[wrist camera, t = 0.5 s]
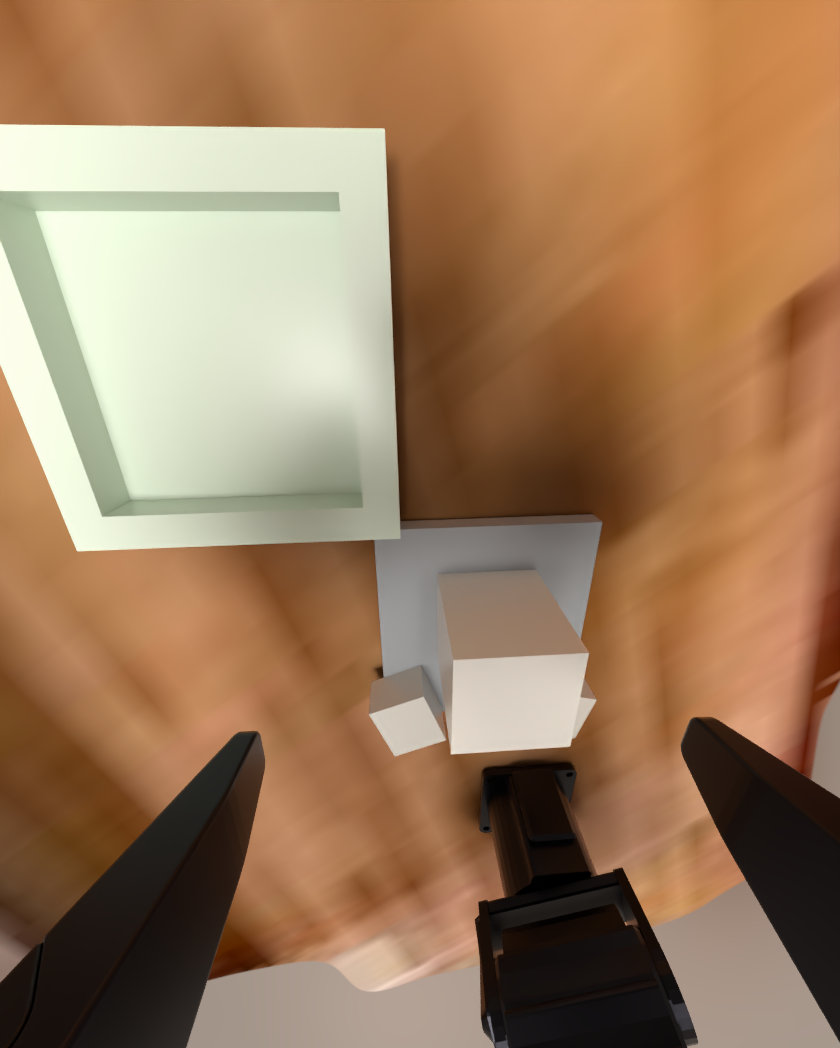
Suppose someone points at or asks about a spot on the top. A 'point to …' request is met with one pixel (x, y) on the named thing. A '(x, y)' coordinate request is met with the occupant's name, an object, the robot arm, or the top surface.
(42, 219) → the bin
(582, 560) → the slate board
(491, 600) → the large white cube
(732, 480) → the top surface
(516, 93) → the top surface
